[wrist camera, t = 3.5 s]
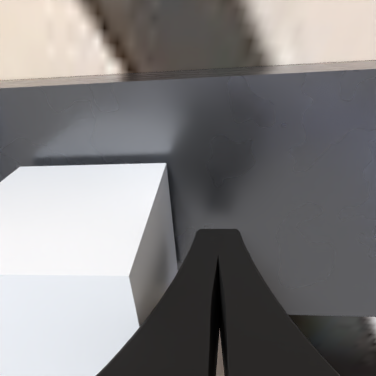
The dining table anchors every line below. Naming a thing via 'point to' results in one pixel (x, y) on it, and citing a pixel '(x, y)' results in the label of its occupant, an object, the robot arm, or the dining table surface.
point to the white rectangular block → (80, 263)
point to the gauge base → (231, 161)
